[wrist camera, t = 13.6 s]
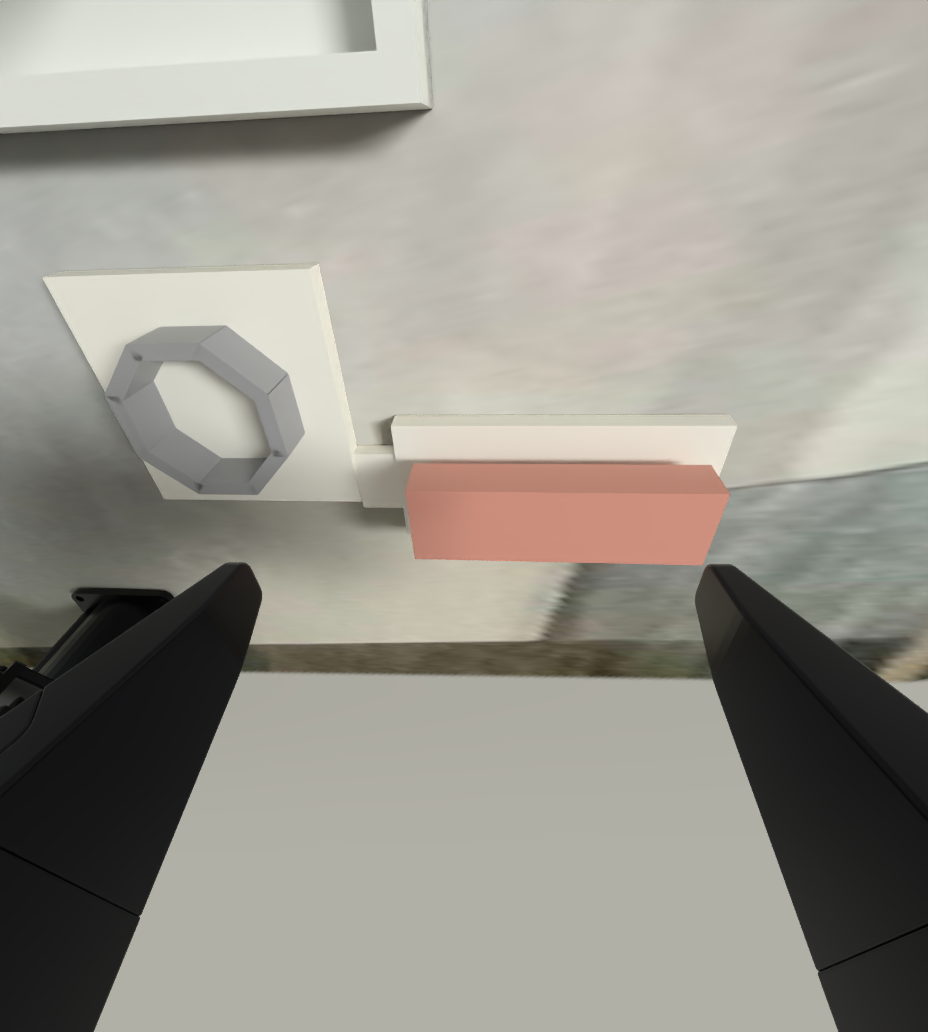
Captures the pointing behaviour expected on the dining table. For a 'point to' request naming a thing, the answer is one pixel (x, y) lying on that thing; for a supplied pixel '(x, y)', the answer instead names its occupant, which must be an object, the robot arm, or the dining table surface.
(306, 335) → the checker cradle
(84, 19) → the white rectangular tray
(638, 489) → the bar
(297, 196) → the dining table surface
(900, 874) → the robot arm
